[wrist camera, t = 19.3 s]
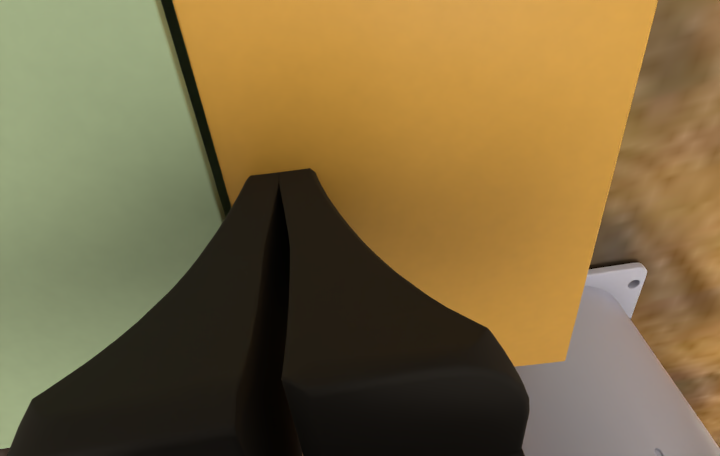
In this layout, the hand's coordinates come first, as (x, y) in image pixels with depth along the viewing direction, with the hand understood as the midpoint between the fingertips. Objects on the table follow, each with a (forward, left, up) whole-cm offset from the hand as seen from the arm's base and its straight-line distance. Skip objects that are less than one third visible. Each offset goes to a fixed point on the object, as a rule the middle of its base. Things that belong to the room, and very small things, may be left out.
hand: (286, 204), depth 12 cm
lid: (0, -3, 0) cm, 3 cm away
